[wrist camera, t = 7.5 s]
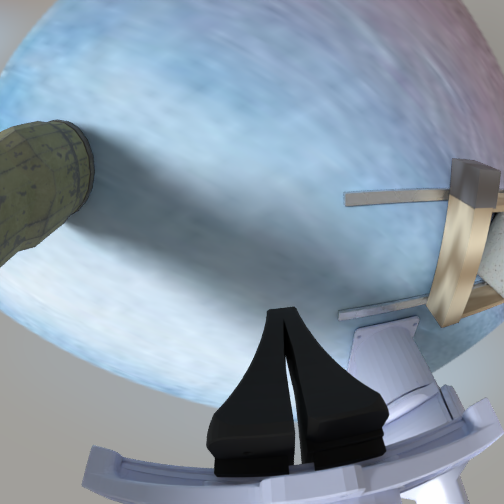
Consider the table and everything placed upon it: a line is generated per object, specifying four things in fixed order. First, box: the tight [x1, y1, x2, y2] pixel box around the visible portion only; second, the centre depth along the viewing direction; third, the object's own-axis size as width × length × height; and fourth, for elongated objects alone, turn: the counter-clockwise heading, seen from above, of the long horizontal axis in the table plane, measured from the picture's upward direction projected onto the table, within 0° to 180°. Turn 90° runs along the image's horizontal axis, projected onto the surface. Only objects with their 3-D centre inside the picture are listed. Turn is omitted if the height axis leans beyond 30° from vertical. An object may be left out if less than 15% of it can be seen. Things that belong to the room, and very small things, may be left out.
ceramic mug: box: [477, 212, 504, 298], centre depth 18 cm, size 11×8×8 cm
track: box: [338, 188, 504, 321], centre depth 22 cm, size 13×23×1 cm, turn 97°
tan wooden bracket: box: [426, 158, 504, 328], centre depth 19 cm, size 15×12×4 cm
